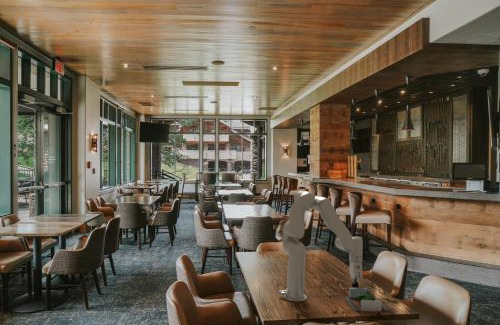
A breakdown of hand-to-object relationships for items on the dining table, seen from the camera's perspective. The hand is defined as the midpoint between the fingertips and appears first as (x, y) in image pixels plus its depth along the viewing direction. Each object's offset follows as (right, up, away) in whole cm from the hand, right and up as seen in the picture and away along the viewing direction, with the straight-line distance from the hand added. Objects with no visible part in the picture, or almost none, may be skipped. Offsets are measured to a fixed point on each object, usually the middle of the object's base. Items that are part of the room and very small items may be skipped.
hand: (355, 290), depth 239 cm
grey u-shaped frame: (+1, -2, -19) cm, 19 cm away
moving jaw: (0, -2, -6) cm, 6 cm away
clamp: (+1, -3, -19) cm, 19 cm away
